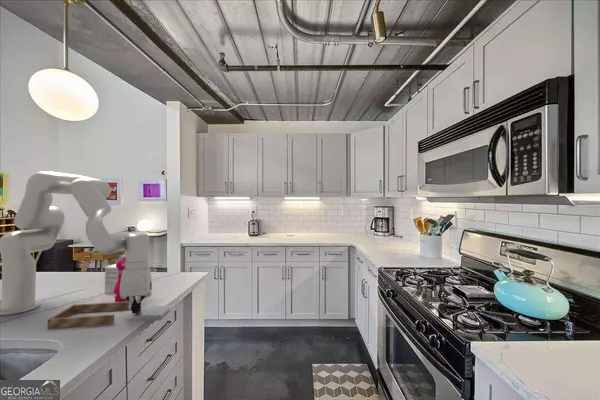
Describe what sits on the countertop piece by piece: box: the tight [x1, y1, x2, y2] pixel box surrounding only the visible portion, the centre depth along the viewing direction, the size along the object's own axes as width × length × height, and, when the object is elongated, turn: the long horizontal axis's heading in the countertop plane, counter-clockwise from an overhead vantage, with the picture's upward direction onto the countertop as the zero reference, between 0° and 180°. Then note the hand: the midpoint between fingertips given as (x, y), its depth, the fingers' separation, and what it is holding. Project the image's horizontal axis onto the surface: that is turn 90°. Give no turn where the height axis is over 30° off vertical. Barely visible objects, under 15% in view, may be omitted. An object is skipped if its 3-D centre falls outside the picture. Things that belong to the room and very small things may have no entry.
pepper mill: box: [113, 254, 129, 302], centre depth 120 cm, size 7×7×20 cm
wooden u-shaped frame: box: [46, 301, 130, 329], centre depth 100 cm, size 20×14×3 cm
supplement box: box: [104, 263, 118, 294], centre depth 131 cm, size 7×7×13 cm
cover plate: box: [132, 305, 172, 322], centre depth 103 cm, size 10×9×2 cm
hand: (135, 312), depth 103 cm, fingers closed
